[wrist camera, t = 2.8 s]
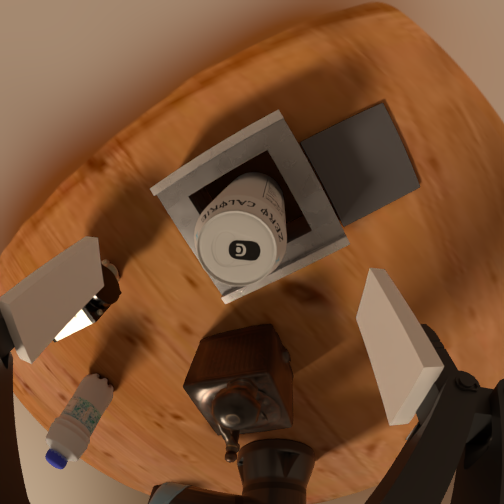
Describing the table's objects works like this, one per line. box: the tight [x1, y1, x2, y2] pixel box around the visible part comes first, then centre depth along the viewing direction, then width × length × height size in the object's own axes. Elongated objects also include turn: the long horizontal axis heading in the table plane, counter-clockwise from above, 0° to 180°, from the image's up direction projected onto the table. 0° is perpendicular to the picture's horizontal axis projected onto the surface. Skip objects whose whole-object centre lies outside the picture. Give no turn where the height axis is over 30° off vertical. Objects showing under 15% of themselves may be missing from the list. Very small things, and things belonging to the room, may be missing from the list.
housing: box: [150, 109, 350, 304], centre depth 29 cm, size 13×13×7 cm
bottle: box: [45, 373, 113, 469], centre depth 36 cm, size 7×7×20 cm
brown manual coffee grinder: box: [183, 324, 293, 462], centre depth 31 cm, size 16×11×18 cm
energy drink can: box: [194, 172, 287, 286], centre depth 25 cm, size 6×6×15 cm
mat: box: [300, 103, 420, 227], centre depth 29 cm, size 10×10×1 cm
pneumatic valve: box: [53, 259, 121, 342], centre depth 31 cm, size 6×12×12 cm, turn 119°
